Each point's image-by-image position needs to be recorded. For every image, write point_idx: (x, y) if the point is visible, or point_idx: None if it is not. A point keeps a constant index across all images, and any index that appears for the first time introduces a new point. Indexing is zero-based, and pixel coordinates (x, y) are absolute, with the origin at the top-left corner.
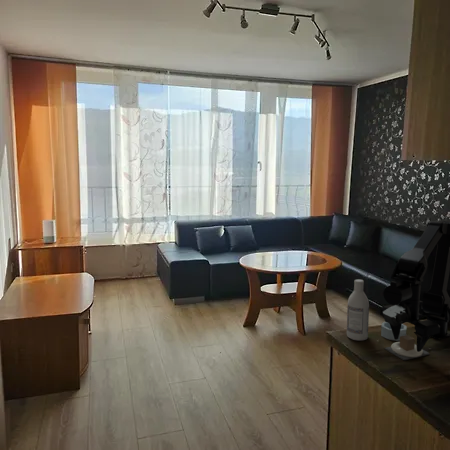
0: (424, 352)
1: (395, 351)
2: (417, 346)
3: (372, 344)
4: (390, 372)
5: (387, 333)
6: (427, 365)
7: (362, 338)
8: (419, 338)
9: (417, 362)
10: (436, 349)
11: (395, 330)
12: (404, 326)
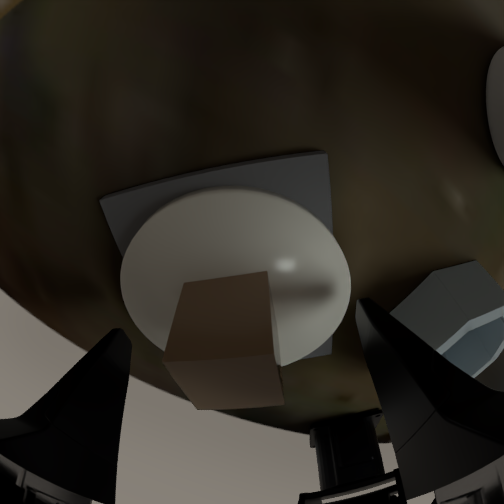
0: None
1: (203, 192)
2: (92, 356)
3: (427, 114)
4: (3, 51)
5: (457, 295)
6: (66, 291)
7: (495, 91)
8: (31, 413)
9: (89, 265)
10: None
11: (392, 369)
12: None
